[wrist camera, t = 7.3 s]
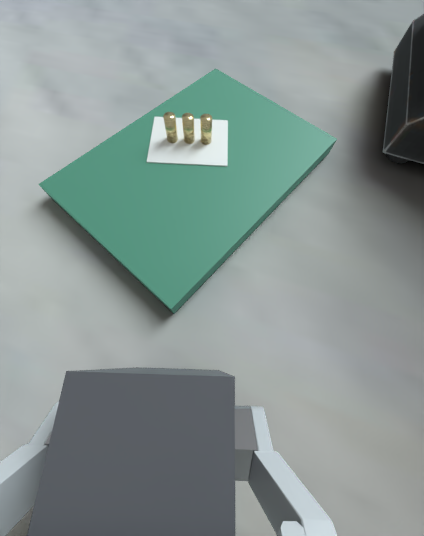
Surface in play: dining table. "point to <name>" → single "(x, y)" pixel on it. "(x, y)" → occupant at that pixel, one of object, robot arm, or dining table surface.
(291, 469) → the robot arm
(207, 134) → the header pins
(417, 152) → the voltmeter
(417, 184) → the dining table surface
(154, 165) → the header board
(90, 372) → the block
